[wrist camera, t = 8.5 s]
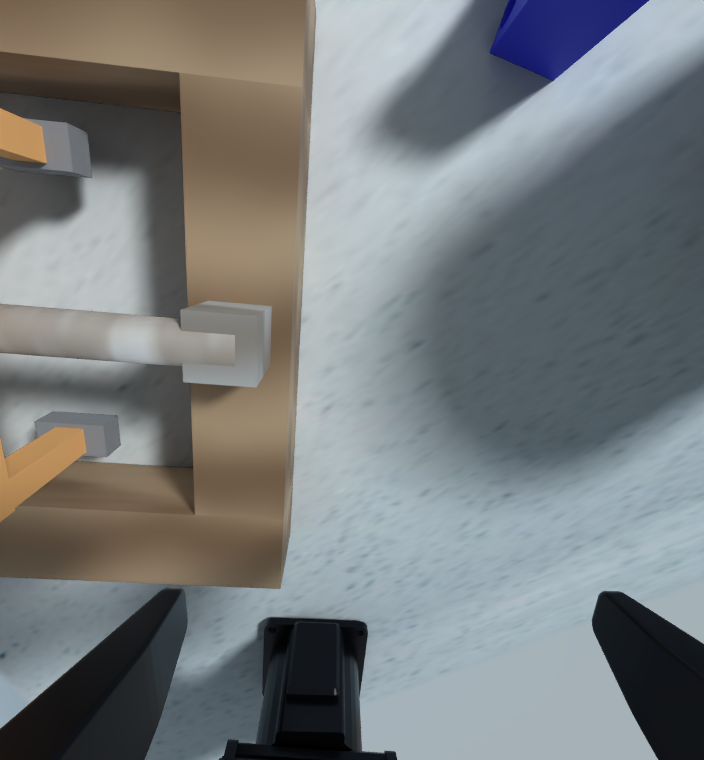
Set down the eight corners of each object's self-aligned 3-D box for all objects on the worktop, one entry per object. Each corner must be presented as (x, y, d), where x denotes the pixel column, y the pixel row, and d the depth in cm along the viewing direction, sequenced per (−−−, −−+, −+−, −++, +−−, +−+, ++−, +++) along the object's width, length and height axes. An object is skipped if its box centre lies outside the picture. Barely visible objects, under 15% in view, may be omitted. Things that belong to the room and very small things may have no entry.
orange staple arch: (120, 445, 19) (8, 543, 13) (57, 441, 19) (-90, 539, 12) (87, 132, 15) (-105, 38, 9) (7, 124, 15) (-253, 21, 8)
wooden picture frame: (290, 533, 23) (270, 646, 16) (-70, 515, 22) (-252, 629, 15) (316, 13, 16) (299, -175, 9) (-224, -57, 14) (-712, -333, 8)
